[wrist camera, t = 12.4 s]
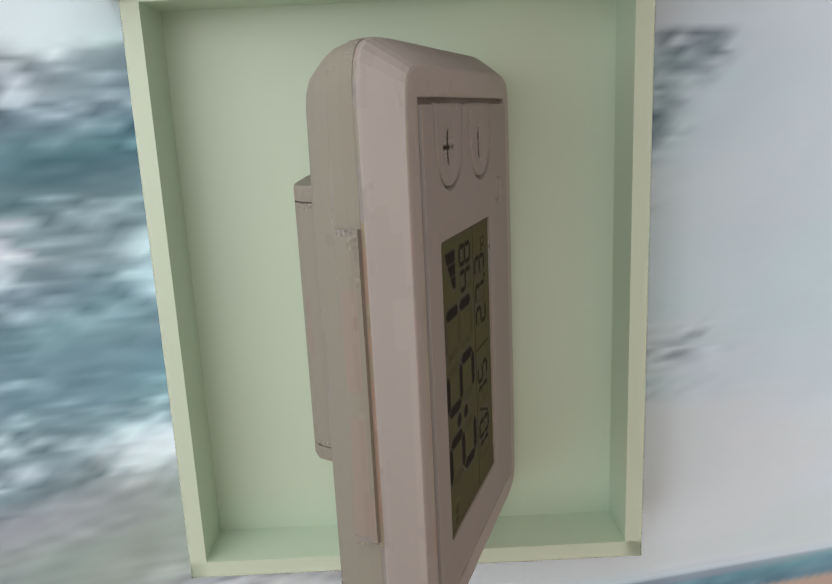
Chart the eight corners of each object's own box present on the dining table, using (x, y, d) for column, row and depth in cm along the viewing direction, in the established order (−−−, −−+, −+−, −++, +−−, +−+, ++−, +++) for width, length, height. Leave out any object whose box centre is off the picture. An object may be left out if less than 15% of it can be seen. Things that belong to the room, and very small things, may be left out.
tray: (211, 536, 30) (191, 577, 28) (146, -4, 26) (116, -19, 23) (619, 516, 31) (641, 555, 28) (629, -26, 26) (656, -43, 23)
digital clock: (500, 500, 30) (553, 707, 19) (272, 470, 29) (200, 665, 19) (583, 79, 26) (703, 54, 16) (324, 37, 26) (271, -18, 15)
